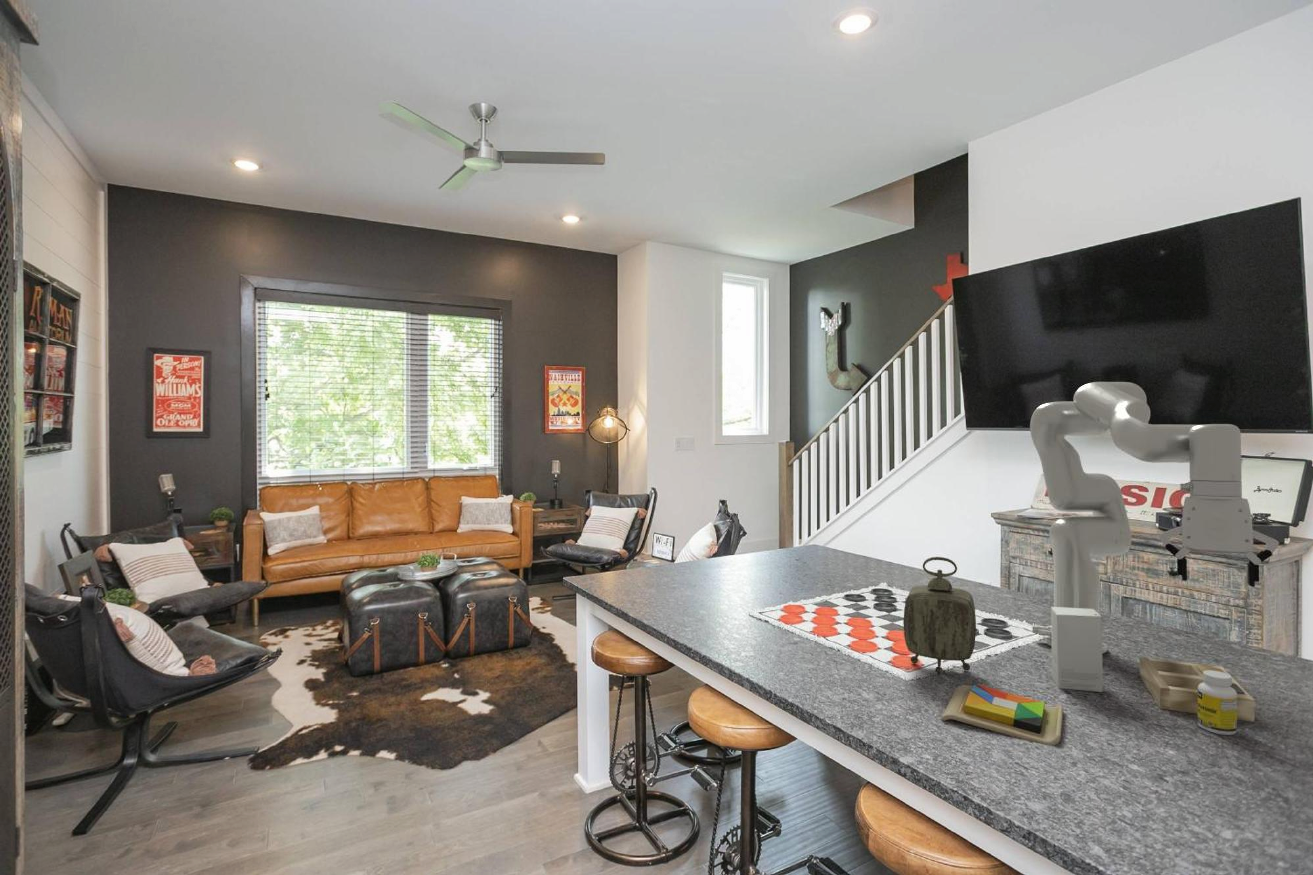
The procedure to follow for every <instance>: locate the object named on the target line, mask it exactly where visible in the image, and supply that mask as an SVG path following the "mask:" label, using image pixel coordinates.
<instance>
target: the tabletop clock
mask: <svg viewBox="0 0 1313 875" xmlns="http://www.w3.org/2000/svg"><path fill="white" fill-rule="evenodd" d="M933 561H942V562H943V561H945V562H947V563H950V564H951V565H953V567H954V570H953V571H952V572H948V573H943V570H941V569H937V571H936V572H933V571H930V570H929V569H926V564H928V563H929V562H933ZM922 569H923V571H924V572H925V573H927V574H929V575H931V576H933V577H932V578H931V579H930V580H929V581H928V583H927V584H926V585H923V584H922V585H916V586H913V587H911V588H910V590H909V593H908V594H907V597H906V600H905V602H904V603H905V604H904V610H903V620H902V621H903V635H904V641H905V645H906V648H907V650H908V652H910V653H912V654H914V655H913V656H911V657H910V662H911V663H912V664H917V663H918V662H919V656H920V657H924V658H929V659H933V660H937V666H936V667H935V669H934V672H935V674H937V675H942V674H944V670H943V668H942V667H941V666H942V664H941V663H942V661H957V662H958V661H959V662H961V663H962V665H961V666H962V669H963V670H964V671H969V670H970V669H971V665H970V664H969V663H968V662H966V661H965V660H971V657H972V655H973V653H974V650H975V646H976V645H975V644H976V633H977V619H976V618H977V617H976V607H975V606H976V605H975V602H974V598H973V596H972V594H971V592H969V591H967V590H965V589H962V588H957V587H952V586H953V585H952V584H951V582H950V580H948V579H947V578H946V577H951V576H953V575H955V574H956V573H957V571H958V565H957V564H956V563H955V562H954V561H953V560H951V559H950V558H946V557H944V556H943V557H942V556H933V557H930V558H927V559H925V560H924V562H923V564H922Z"/></svg>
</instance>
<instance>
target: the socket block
mask: <svg viewBox="0 0 1313 875" xmlns="http://www.w3.org/2000/svg"><path fill="white" fill-rule="evenodd" d="M1206 670H1212V671H1219V672H1223V673H1226V674H1229V672H1228V671H1227V670H1225V668H1224V667H1223V666H1218V665H1209V664H1202V663H1200V664H1199V663H1194V662H1193V663H1192V662H1186V661H1184V662H1183V661H1176V660H1168V659H1167V660H1166V659H1159V658H1150V657H1142V656H1140V657H1139V677H1140V678H1141V680H1142V682H1143V683H1144V685H1145V687H1146V688H1147V690H1148V691H1149V693H1150V694H1152V695H1151V696H1152V698H1153V699H1154V701H1155V703H1156V704H1157V706H1158V708H1159V709H1163V710H1170V711H1176V712H1183V713H1191V714H1196V715H1198V685H1199V684H1200V683H1203V682H1205V681H1204V680H1203V671H1206ZM1230 687H1232V688H1233V689H1234V690H1235V691H1236V693H1237V721H1238V720H1239V721H1247V722H1251V723H1254V722H1255V712H1256V711H1255V699H1254V697H1252V696H1251V695H1250V694H1249V692H1247V691H1246V690H1245V688H1243V687H1242V686H1241V684H1239V682H1238V681H1237V680H1236V679H1234V677H1232V685H1231V686H1230Z"/></svg>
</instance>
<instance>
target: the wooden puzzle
mask: <svg viewBox="0 0 1313 875" xmlns="http://www.w3.org/2000/svg"><path fill="white" fill-rule="evenodd" d="M1063 713H1064V706H1063V705H1062V704H1058V705H1056V706H1048V705H1046V702H1045V701H1040V700H1035V699H1032V698H1029V697H1026V696H1022V695H1021V696H1020V695H1018V694H1013V693H1010V692H1009V693H1008V692H1006V691H1002V690H999V689H997V688H996V689H995V688H993V687H989V686H986V685H981V684H978V683H975V684H973V685H972V686H971V685H968V684H962V685H958V687H956V688H955V690H954V692H953V694H952V696H951V698H950V700H949V702H948V703H947V706H946V708H945V709H944V712H943V714H942V716H941V721H942V722H946V721H949V720H954V721H959V722H961V723H964V724H968V725H972V726H975V727H979V728H982V729H986V730H989V731H993V732H997V733H1000V734H1003V735H1006V736H1009V737H1014V738H1016V739H1022V740H1026V741H1030V742H1033V743H1039V744H1043V745H1048V746H1056V745H1057V744H1059V742H1060V740H1061V736H1062V726H1063V725H1062V724H1063V716H1064V714H1063Z"/></svg>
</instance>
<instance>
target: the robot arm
mask: <svg viewBox="0 0 1313 875" xmlns="http://www.w3.org/2000/svg"><path fill="white" fill-rule="evenodd" d="M1147 401H1148V400H1147V395H1146V392H1145V391H1144V390H1143V388H1142V387H1141V386H1139V385H1138V384H1136V383H1133V382H1130V381H1129V382H1127V381H1093V382H1089V383H1086V384H1084V385H1082V386H1080V387H1079V388H1078V389H1077V390H1076V391H1075V392H1074V394H1073V401H1071V400H1070V401H1065V400H1063V401H1052V402H1046V403H1043V404H1041V405H1039V406H1038V407H1037V408H1036V409H1035V410H1034V411H1033V413H1032V415H1031V418H1030V423H1029V429H1030V430H1029V431H1030V435H1031V440H1032V442H1033V443H1032V444H1033V445H1034V448H1035V449H1036V451H1037V454H1038V456H1039V459H1040V462H1041V467H1042V468H1041V469H1042V473H1043V478H1044V483H1045V487H1046V492H1047V496H1048V497H1047V498H1048V500H1049V502H1050V505H1051V507H1052V508H1053V509H1054V510H1056V511H1059V512H1065V513H1090V512H1091V513H1092V515H1093V516H1090V515H1089V516H1083V515H1082V516H1066V517H1061V518H1059V519H1057V520H1055V521H1053V523H1052V524H1051V525H1050V528H1049V542H1050V543H1049V544H1050V547H1051V551H1052V552H1051V553H1052V559H1053V560H1052V561H1053V607H1065V608H1086V609H1094V610H1095V611H1096V612H1097V613H1098V614H1099V615H1101V614H1100V610H1101V607H1100V606H1101V604H1100V602H1101V599H1100V598H1101V595H1100V594H1101V593H1100V592H1101V589H1100V588H1101V581H1100V580H1101V579H1100V578H1101V577H1100V573H1099V571H1098V569H1097V567H1096V566H1095V564H1094V562H1093V561H1092V559H1091V557H1115V556H1120V555H1124V554H1126V553H1127V552H1128V551H1129V549H1130V548H1131V545H1132V540H1133V539H1132V531H1131V526H1130V521H1129V518H1128V514H1127V510H1126V505H1125V501H1124V497H1123V493H1122V490H1121V488H1120V486H1119V484H1118V483H1117V481H1116V480H1115V479H1114V478H1113V477H1111V476H1110V475H1108V474H1104V473H1099V472H1098V473H1097V472H1096V473H1094V472H1092V473H1088V472H1087V473H1086V472H1085V470H1084V469H1083V465H1082V462H1081V458H1080V454H1079V452H1078V451H1077V449H1076V448H1075V446H1073V445H1072V443H1070V442H1069V441H1068V440H1067V439H1066V438H1065V437H1067V436H1076V437H1077V436H1080V437H1081V436H1082V437H1083V436H1084V437H1088V436H1091V437H1092V436H1093V437H1094V436H1102V435H1103V436H1104V435H1105V434H1108V433H1110V436H1111V439H1112V441H1113V443H1114V445H1115V447H1117V448H1118V449H1120V450H1121V451H1123V452H1124V453H1126V454H1127V455H1129V456H1131V457H1132V458H1135V459H1137V460H1139V461H1143V462H1146V463H1152V464H1155V463H1162V464H1163V463H1179V464H1180V463H1181V464H1182V463H1189V481H1188V482H1185V483H1180V485H1179V486H1180V487H1179V489H1180V491H1185V492H1188V493H1189V496H1186V497H1185V498H1184V502H1183V507H1182V508H1183V509H1182V514H1181V515H1182V519H1181V526H1178V527H1177V526H1176V527H1175V528H1172V529H1169V530H1166V531H1164V532H1161V533H1159V534H1158V538H1159V540H1160V541H1161V543H1162V545H1163V546H1164V548H1165V549H1166V550H1167V551H1168V552H1169V553H1170V554H1171V555H1173V556H1174V557H1175V558H1176V561H1177V562H1176V564H1177V568H1176V570H1177V571H1176V572H1177V576H1181V581H1182V582H1185V581H1188V562H1187V558H1186V556H1187V555H1189V553H1190V552H1191V551H1194V552H1207V553H1219V554H1220V553H1221V554H1237V555H1239V554H1241V555H1244V556H1245V557H1247V559H1249V560H1248V563H1247V567H1246V568H1247V585H1248V586H1250V587H1251V588H1252V587H1253V588H1255V586H1256V585H1255V583H1256V582H1257V583H1260V565H1261V564H1262V563H1264V561H1266V560H1268V559H1269V558H1270V557H1272V555H1273V554H1274V552H1275V551H1276V549H1277V548H1278V547H1279V545H1280V542H1279V541H1278V540H1277V539H1275V538H1273V537H1270V536H1269V535H1265V534H1263V533H1261V532H1259V531H1257V530H1254V529H1253V521H1252V520H1253V519H1252V513H1251V508H1250V503H1249V501H1248V499H1247V498H1243V496H1242V495H1243V486H1242V485H1243V484H1242V481H1243V480H1242V477H1243V476H1242V443H1241V442H1242V437H1241V436H1242V434H1241V430H1240V428H1239V427H1238V426H1236V425H1234V424H1230V423H1222V424H1221V423H1210V424H1153V423H1152V424H1151V423H1149V421H1150V419H1151V409H1150V406H1149V405H1148V403H1147ZM1179 535H1181V544H1182V546H1181V547H1180V548H1179V549H1178V548H1177V547H1176V546H1175V545H1173V544H1172V542H1171V540H1170V539H1171V538H1173V537H1176V536H1179ZM1254 539H1255V540H1258V541H1260V542H1262V543H1265V546H1264V549H1262V550H1260V552H1258V553H1257V554H1255V553H1254V552H1253V550H1254ZM1031 631H1032V634H1038V636H1043V637H1044V636H1046V639H1045V640H1046V642H1045V643H1046V645H1048V646H1050V647H1051V648H1052V638H1051V625H1046V626H1043V625H1042V626H1041V625H1036V624H1032V630H1031ZM1107 652H1108V645H1107V644H1105V643H1104V642H1102V655H1104V654H1105V653H1107Z"/></svg>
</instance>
